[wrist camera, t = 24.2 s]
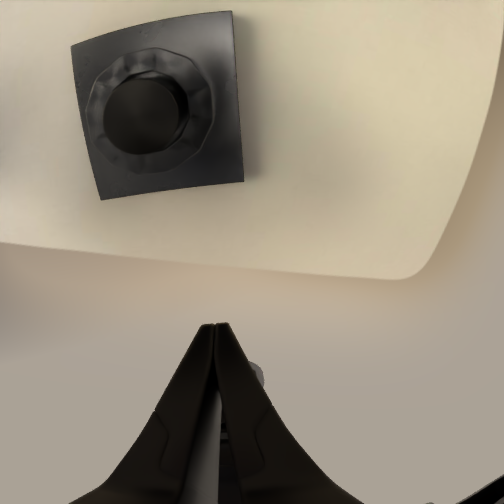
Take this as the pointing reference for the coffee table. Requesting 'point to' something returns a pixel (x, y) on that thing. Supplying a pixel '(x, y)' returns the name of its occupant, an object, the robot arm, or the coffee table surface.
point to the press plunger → (142, 115)
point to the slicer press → (190, 89)
